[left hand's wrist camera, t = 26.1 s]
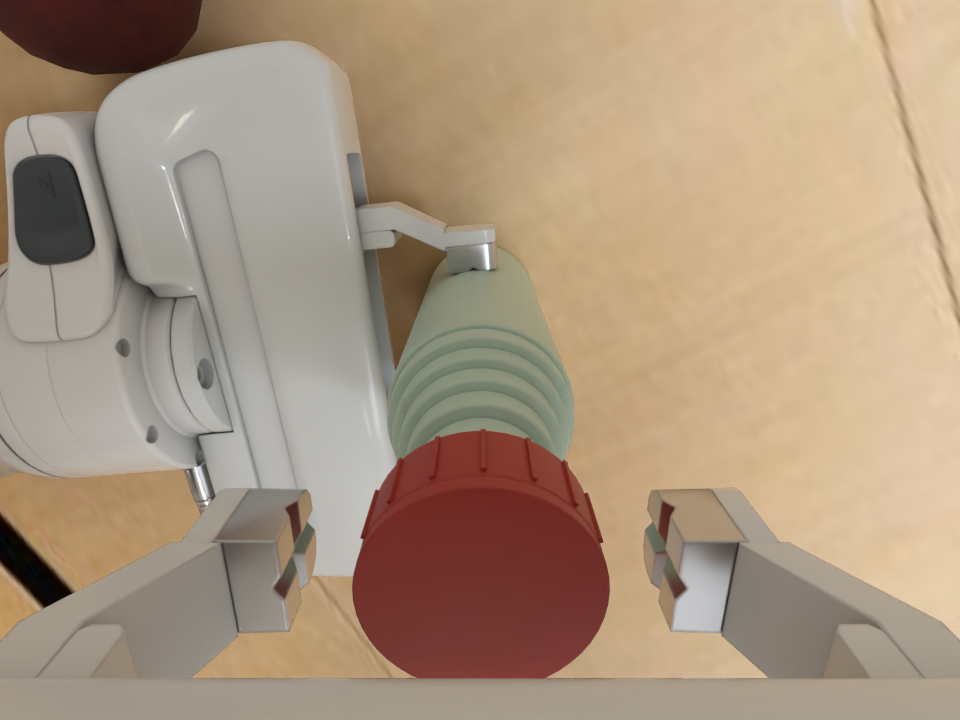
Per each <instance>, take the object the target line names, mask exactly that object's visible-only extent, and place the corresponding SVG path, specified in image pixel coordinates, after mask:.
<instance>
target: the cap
mask: <svg viewBox="0 0 960 720" xmlns="http://www.w3.org/2000/svg"><path fill="white" fill-rule="evenodd" d="M360 539H363V542H362V546H361V549H360V552H359V555H358V559H357V562H356V566H355V570H354V574H353V585H352V590H353V602H354V606H355V610H356V614H357V617H358V619H359V622H360V624H361V627H362V629H363V630H364V632H365V634H366V635H367V637H368V639H369V640H370V641H371V642H372V644H373V645H374V646H375V647H376V649H377V650H378V651H379V652H380V653H381V654H382V655H383V656H384V657H385V658H387V659H388V660H389V661H390V662H392V663H393V664H394V665H396V666H397V667H398V668H400V669H401V670H403V671H405V672H407V673H408V674H410V675H412V676H414V677H416V678H546V677H548V676H550V675H552V674H554V673H555V672H557V671H559V670H561V669H562V668H563V667H565V666H566V665H568V664H569V663H571V662H572V661H573V660H574V659H575V658H576V657H578V656H579V655H580V654H581V653H582V652H583V651H584V650H585V648H586V647H587V646H588V645H589V644H590V643H591V641H592V640H593V638H594V637H595V635H596V634H597V632H598V631H599V628H600V626H601V624H602V622H603V620H604V617H605V614H606V610H607V607H608V601H609V593H610V586H609V575H608V570H607V565H606V562H605V558H604V555H603V552H602V548H601V545H600V543H602V542H603V539H602V536H601V533H600V530H599V526H598V523H597V520H596V517H595V514H594V511H593V507H592V504H591V501H590V498H589V495H588V493H585V494H584V492H583V489H582V487H581V486H580V484H579V482H578V480H577V479H576V477H575V476H574V474H573V473H572V472H571V471H570V469H569V467H568V463H567V462H566V461H565V460H563V461H561V460H560V459H559V458H558V457H556V456H555V455H554V454H552V453H551V452H549V451H548V450H547V449H545V448H543V447H541V446H539V445H538V444H536V443H534V442H532V441H531V438H528V437H526V439H525V438H522V437H519V436H515V435H511V434H507V433H501V432H494V431H486V429H481V431H469V432H460V433H455V434H451V435H446V436H443V437H440V436H436V437H435V440H432V441H430V442H428V443H426V444H424V445H422V446H420V447H418V448H417V449H415V450H414V451H412V452H411V453H409V454H408V455H407V456H405V457H404V458H403V459H402V458H401V457H400V458H399V459H398V460H397V463H396V466H395V467H394V468H393V469H392V470H391V472H390V473H389V474H388V475H387V477H386V478H385V480H384V482H383V483H382V485H381V487H380V489H379V490H377V489H376V490H375V492H374V495H373V498H372V501H371V504H370V508H369V511H368V514H367V517H366V521H365V524H364V527H363V530H362V533H361V537H360Z"/></svg>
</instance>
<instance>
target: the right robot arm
mask: <svg viewBox="0 0 960 720" xmlns="http://www.w3.org/2000/svg"><path fill="white" fill-rule="evenodd" d="M4 153H5V170H6V185H7V203H8V262H6V263H4V264H1V265H0V479H1V478H4V477H6V476H9V475H11V474H14V473H19V472H21V473H27V474H30V475H35V476H40V477H47V478H58V479H67V478H81V477H93V476H104V475H116V474H128V473H143V472H155V471H166V470H178V469H184V472H185V475H186V478H187V481H188V485H189V488H190V491H191V493H192V496H193V498H194V500H195V502H196V504H197V506H198V508H199V511H200V514H201V515H202V513H203V512H204V511H205V509H206V508H207V507H208V506H209V504H210V503H211V502H212V500H213V499H214V498H215V497H216V495H217V494H218V493H219V491H220V490H222V489H225V488H252V489H253V488H277V489H307V490H308V492H309V493H310V495H311V502H312V508H313V510H312V512H311V514H310V517H309V519H308V521H307V522H308V523H309V524H310V525H311V526H312V527H313V528H314V529H315V533H316V559H315V565H314V570H313V573H312V575H314V576H340V577H353V574H354V570H355V566H356V562H357V559H358V555H359V552H360V549H361V546H362V542H363V539H360V537H361V533H362V530H363V527H364V524H365V521H366V517H367V514H368V511H369V508H370V504H371V501H372V498H373V495H374V492H375V490H376V489H377V490H379V489H380V487H381V485H382V483H383V482H384V480H385V478H386V477H387V475H388V474H389V473H390V472H391V470H392V469H393V468H394V467H395V466H396V463H397V458H396V456H395V453H394V450H393V448H392V445H391V442H390V438H389V434H388V425H387V416H388V411H387V404H388V394H389V389H390V385H391V382H392V380H393V377H394V374H395V372H396V370H395V364H394V358H393V351H392V345H391V339H390V332H389V326H388V319H387V313H386V307H385V300H384V294H383V288H382V281H381V275H380V269H379V262H378V256H377V249H379V248H389V247H393V246H394V245H395V244H396V243H397V241H398V240H399V239H400V238H401V237H402V236H403V235H402V233H403V234H405V235H408V236H410V237H412V238H415V239H417V240H419V241H422V242H424V243H426V244H429V245H431V246H433V247H435V248H438V249H440V250H442V251H446V253H447V261H448V268H449V274H455V273H464V272H469V271H470V270H471V269H472V268H475V269H477V270H479V271H483V270H484V271H487V270H493V269H496V268H498V262H497V248H496V237H495V225H494V224H493V223H482V224H472V225H461V226H451V227H447V226H446V223H444V222H442V221H440V220H438V219H435V218H433V217H431V216H429V215H427V214H425V213H423V212H420V211H418V210H416V209H414V208H412V207H410V206H408V205H405V204H403V203H401V202H399V201H396V202H386V203H375V204H369V199H368V192H367V186H366V179H365V173H364V167H363V160H362V154H361V148H360V141H359V135H358V129H357V122H356V116H355V109H354V103H353V97H352V90H351V84H350V80H349V77H348V75H347V74H346V72H345V71H344V70H343V69H342V68H341V67H340V66H338V65H337V64H336V63H335V62H334V61H333V60H331V59H330V58H329V57H328V56H327V55H325V54H324V53H323V52H321V51H320V50H318V49H316V48H315V47H313V46H311V45H309V44H306V43H303V42H300V41H292V40H281V41H271V42H262V43H256V44H250V45H244V46H238V47H233V48H228V49H223V50H218V51H213V52H209V53H205V54H201V55H197V56H193V57H189V58H185V59H182V60H178V61H175V62H171V63H168V64H164V65H161V66H158V67H155V68H152V69H149V70H146V71H143V72H141V73H138V74H136V75H134V76H132V77H130V78H128V79H126V80H125V81H123V82H122V83H120V84H119V85H117V86H116V87H115V88H114V89H113V90H112V91H111V92H110V93H109V94H108V95H107V96H106V98H105V99H104V101H103V103H102V104H101V106H100V108H99V111H98V112H95V111H64V112H52V113H42V114H35V115H29V116H24V117H20V118H18V119H16V120H14V121H13V122H12V123H11V124H10V125H9V127H8V129H7V131H6V135H5V143H4Z"/></svg>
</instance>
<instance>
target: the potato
mask: <svg viewBox="0 0 960 720" xmlns="http://www.w3.org/2000/svg"><path fill="white" fill-rule="evenodd" d="M201 3H202V0H0V31H1V32H2V33H3V34H5V35H6V36H7V37H8V38H10V39H11V40H12V41H14V42H15V43H16V44H18V45H19V46H20V47H22V48H23V49H24V50H26V51H27V52H28V53H30V54H31V55H33V56H36V57H38V58H41V59H43V60H46V61H48V62H51V63H53V64H56V65H58V66H61V67H63V68H67V69H71V70H75V71H80V72H84V73H89V74H93V75H95V74H115V73H136V72H140V71H145V70H148V69H150V68H152V67H154V66H156V65H158V64H160V63H162V62H164V61H166V60H168V59H170V58H172V57H174V56H176V55H178V54H179V53H180V51H181V50H182V49H183V47H184V46H185V45H186V43H187V42H188V41H189V40H190V38H191V37H192V36H193V34H194V33H195V32H196V30H197V25H198V20H199V14H200V9H201Z"/></svg>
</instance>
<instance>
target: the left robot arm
mask: <svg viewBox="0 0 960 720" xmlns="http://www.w3.org/2000/svg"><path fill="white" fill-rule="evenodd" d="M312 510H313V508H312V502H311V495H310V493H309V492H308V490H307V489H277V488H253V489H252V488H225V489H222V490H220V491H219V493H218V494H217V495H216V497H215V498H214V499H213V500H212V502H211V503H210V504H209V506H208V507H207V508H206V509H205V511H204V512H203V513H202V515H201V516H200V517H199V518H198V520H197V521H196V522H195V524H194V525H193V526H192V527H191V529H190V530H189V531H188V533H187V534H186V535H185V536H184V538H183V539H182V540H181V542H171V543H169V544H167V545H165V546H163V547H161V548H159V549H158V550H156V551H154V552H152V553H150V554H148V555H146V556H144V557H142V558H140V559H138V560H136V561H134V562H132V563H131V564H129V565H127V566H125V567H123V568H121V569H119V570H117V571H115V572H113V573H111V574H109V575H107V576H106V577H104V578H102V579H100V580H98V581H96V582H94V583H92V584H90V585H88V586H86V587H84V588H82V589H80V590H79V591H77V592H75V593H73V594H71V595H69V596H67V597H65V598H63V599H61V600H59V601H57V602H55V603H54V604H52V605H50V606H48V607H46V608H44V609H42V610H40V611H38V612H36V613H34V614H32V615H30V616H28V617H27V618H25V619H23V620H21V621H19V622H18V623H17V624H16V625H15V626H14V627H13V628H12V629H11V630H10V631H9V632H8V633H7V634H6V635H5V636H4V637H3V638H2V639H1V640H0V720H960V640H959V639H958V638H957V637H956V636H955V635H954V634H953V633H952V632H951V631H950V630H949V629H948V628H947V627H946V626H945V625H944V624H943V623H942V622H941V621H939V620H937V619H935V618H933V617H931V616H929V615H927V614H925V613H923V612H922V611H920V610H918V609H916V608H914V607H912V606H910V605H908V604H906V603H904V602H902V601H900V600H899V599H897V598H895V597H893V596H891V595H889V594H887V593H885V592H883V591H881V590H879V589H877V588H875V587H874V586H872V585H870V584H868V583H866V582H864V581H862V580H860V579H858V578H856V577H854V576H852V575H851V574H849V573H847V572H845V571H843V570H841V569H839V568H837V567H835V566H833V565H831V564H829V563H827V562H826V561H824V560H822V559H820V558H818V557H816V556H814V555H812V554H810V553H808V552H806V551H804V550H802V549H801V548H799V547H797V546H795V545H793V544H791V543H789V542H779V540H778V539H777V538H776V536H775V535H774V534H773V533H772V531H771V530H770V529H769V527H768V526H767V525H766V524H765V522H764V521H763V520H762V518H761V517H760V516H759V515H758V513H757V512H756V511H755V510H754V508H753V507H752V506H751V504H750V503H749V502H748V501H747V499H746V498H745V497H744V495H743V494H742V493H741V492H740V490H738V489H736V488H734V487H733V488H707V489H674V490H652V491H651V493H650V496H649V501H648V508H647V510H648V512H649V514H650V516H651V519H652V521H653V522H652V523H651V524H650V525H649V526H648V527H647V528H646V530H645V534H644V561H645V565H646V570H647V573H648V576H649V579H650V581H651V583H652V584H653V585H655V586H656V587H657V588H659V589H660V595H659V604H660V606H661V609H662V611H663V614H664V616H665V619H666V621H667V624H668V626H669V629H670V631H671V632H698V633H722V636H723V637H724V638H725V639H726V640H727V641H728V642H729V643H731V644H732V645H733V646H734V647H735V648H736V649H737V650H738V651H739V652H741V653H742V654H743V655H744V656H745V657H746V658H747V659H748V660H750V661H751V662H752V663H753V664H754V665H755V666H756V667H757V668H758V669H760V670H761V671H762V672H763V673H764V674H765V675H766V676H767V677H769V678H192V677H193V676H194V675H195V674H196V673H197V672H198V671H200V670H201V669H202V668H203V667H204V666H205V665H206V664H207V663H209V662H210V661H211V660H212V659H213V658H214V657H215V656H216V655H218V654H219V653H220V652H221V651H222V650H223V649H224V648H225V647H226V646H228V645H229V644H230V643H231V642H232V641H233V640H234V639H235V638H237V637H238V633H262V632H289V631H290V629H291V626H292V624H293V621H294V619H295V617H296V614H297V612H298V609H299V607H300V604H301V594H300V589H302V588H303V587H304V586H306V585H307V584H308V583H309V581H310V579H311V576H312V573H313V570H314V565H315V559H316V533H315V529H314V528H313V527H312V526H311V525H310V524H309V523H308V522H307V521H308V519H309V517H310V514H311V512H312Z"/></svg>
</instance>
